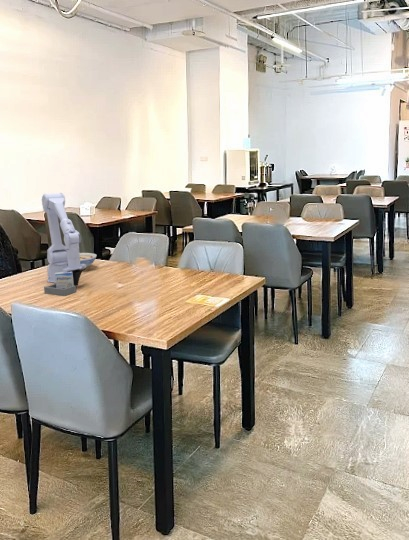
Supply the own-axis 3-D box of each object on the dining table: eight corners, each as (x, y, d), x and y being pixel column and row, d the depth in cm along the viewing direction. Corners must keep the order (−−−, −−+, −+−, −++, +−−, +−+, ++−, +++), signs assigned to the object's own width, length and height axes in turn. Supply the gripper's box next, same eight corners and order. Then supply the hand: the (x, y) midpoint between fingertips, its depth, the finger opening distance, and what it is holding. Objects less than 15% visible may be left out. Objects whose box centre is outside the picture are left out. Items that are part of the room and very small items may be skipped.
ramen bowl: (92, 273, 283) (91, 258, 281) (49, 274, 283) (48, 259, 282) (101, 264, 307) (100, 250, 306) (62, 265, 308) (61, 251, 306)
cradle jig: (44, 293, 243) (44, 287, 242) (56, 289, 250) (56, 283, 249) (64, 296, 238) (64, 289, 237) (76, 291, 245) (76, 285, 244)
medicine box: (56, 292, 245) (54, 274, 243) (57, 289, 249) (55, 272, 247) (74, 290, 246) (72, 272, 244) (74, 288, 251) (72, 270, 249)
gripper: (70, 260, 242) (72, 289, 245) (90, 255, 254) (91, 282, 257) (58, 259, 245) (60, 288, 248) (78, 254, 257) (80, 281, 260)
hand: (75, 285), depth 253 cm, fingers closed
